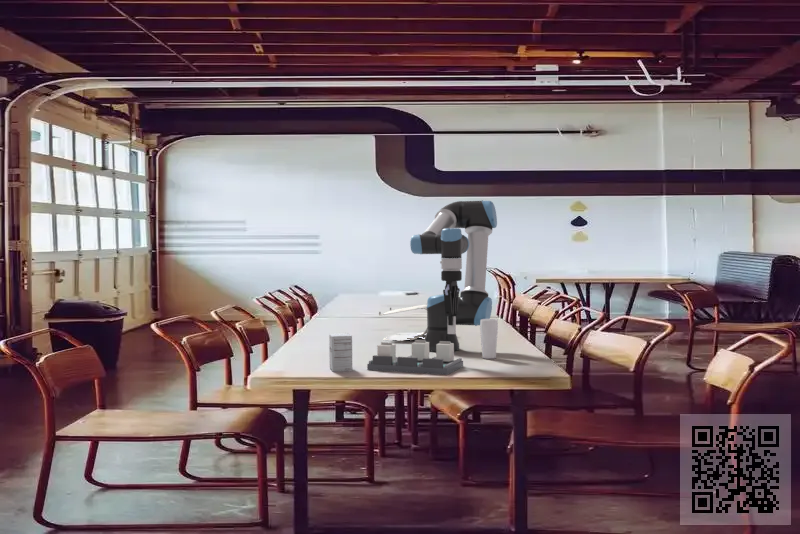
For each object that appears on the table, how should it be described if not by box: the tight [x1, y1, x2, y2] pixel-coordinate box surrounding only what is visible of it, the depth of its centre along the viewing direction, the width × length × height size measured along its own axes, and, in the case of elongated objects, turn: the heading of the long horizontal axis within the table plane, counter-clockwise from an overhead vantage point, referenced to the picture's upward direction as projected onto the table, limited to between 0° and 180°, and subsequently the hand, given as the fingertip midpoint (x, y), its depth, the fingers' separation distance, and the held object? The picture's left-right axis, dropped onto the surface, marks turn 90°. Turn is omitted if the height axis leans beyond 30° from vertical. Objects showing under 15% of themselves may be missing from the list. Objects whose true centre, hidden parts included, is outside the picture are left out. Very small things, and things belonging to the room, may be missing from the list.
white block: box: [376, 341, 397, 362], centre depth 269 cm, size 5×5×7 cm
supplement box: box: [328, 332, 353, 373], centre depth 268 cm, size 7×7×13 cm
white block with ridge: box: [411, 339, 430, 360], centre depth 274 cm, size 5×5×7 cm
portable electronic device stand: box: [378, 303, 427, 341], centre depth 354 cm, size 26×24×16 cm
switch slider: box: [435, 341, 455, 362], centre depth 271 cm, size 5×5×7 cm
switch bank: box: [366, 355, 464, 376], centre depth 270 cm, size 18×30×5 cm, turn 68°
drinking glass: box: [479, 318, 499, 360], centre depth 290 cm, size 7×7×15 cm
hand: (451, 333), depth 278 cm, fingers closed
